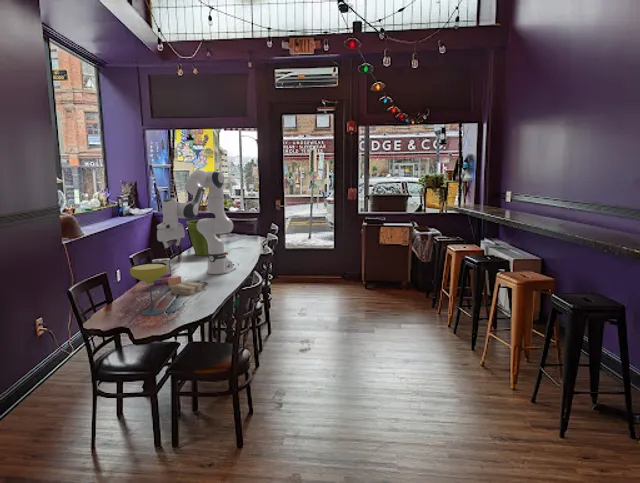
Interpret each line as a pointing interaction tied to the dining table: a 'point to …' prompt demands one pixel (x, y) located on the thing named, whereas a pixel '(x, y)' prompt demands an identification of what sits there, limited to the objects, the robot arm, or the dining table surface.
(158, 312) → the cocktail glass
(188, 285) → the plinth
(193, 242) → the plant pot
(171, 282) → the block
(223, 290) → the dining table surface
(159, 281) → the candy bar box
